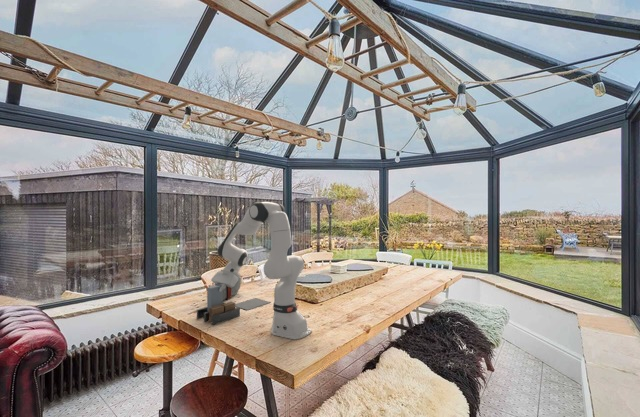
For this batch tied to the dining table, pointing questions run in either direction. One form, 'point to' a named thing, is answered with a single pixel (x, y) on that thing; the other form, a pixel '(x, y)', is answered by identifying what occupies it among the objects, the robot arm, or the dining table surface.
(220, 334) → the dining table surface
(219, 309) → the offcut
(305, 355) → the dining table surface
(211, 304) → the panel
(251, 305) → the mat
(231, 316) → the rack
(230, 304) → the offcut
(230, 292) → the decorative stone tablet
